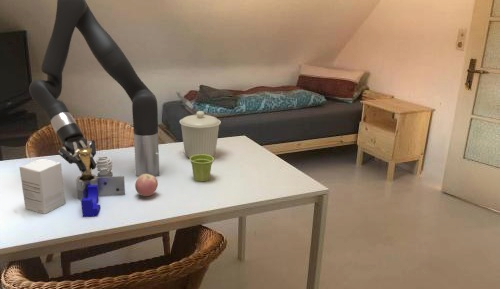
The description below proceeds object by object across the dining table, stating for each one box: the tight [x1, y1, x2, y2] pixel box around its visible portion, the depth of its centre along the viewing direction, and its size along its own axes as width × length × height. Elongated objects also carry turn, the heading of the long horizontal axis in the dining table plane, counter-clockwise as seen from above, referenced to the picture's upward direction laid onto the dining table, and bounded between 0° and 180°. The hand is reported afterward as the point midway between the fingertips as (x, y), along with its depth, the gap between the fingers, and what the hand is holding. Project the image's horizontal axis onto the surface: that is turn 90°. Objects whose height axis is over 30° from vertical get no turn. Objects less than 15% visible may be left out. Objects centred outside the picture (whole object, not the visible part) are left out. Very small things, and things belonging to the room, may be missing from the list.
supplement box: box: [19, 158, 66, 215], centre depth 141 cm, size 9×9×15 cm
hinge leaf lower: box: [76, 181, 100, 207], centre depth 147 cm, size 7×16×7 cm, turn 12°
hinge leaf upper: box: [75, 173, 126, 197], centre depth 152 cm, size 16×7×7 cm, turn 102°
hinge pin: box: [77, 146, 93, 181], centre depth 148 cm, size 5×5×12 cm
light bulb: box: [95, 155, 113, 177], centre depth 159 cm, size 6×6×12 cm
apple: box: [134, 174, 159, 197], centre depth 153 cm, size 8×8×8 cm
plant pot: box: [189, 154, 215, 183], centre depth 169 cm, size 9×9×9 cm
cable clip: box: [80, 185, 101, 218], centre depth 143 cm, size 12×4×6 cm, turn 10°
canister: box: [179, 110, 222, 159], centre depth 192 cm, size 18×18×21 cm
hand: (89, 169), depth 148 cm, fingers closed on hinge pin, 3 cm apart
